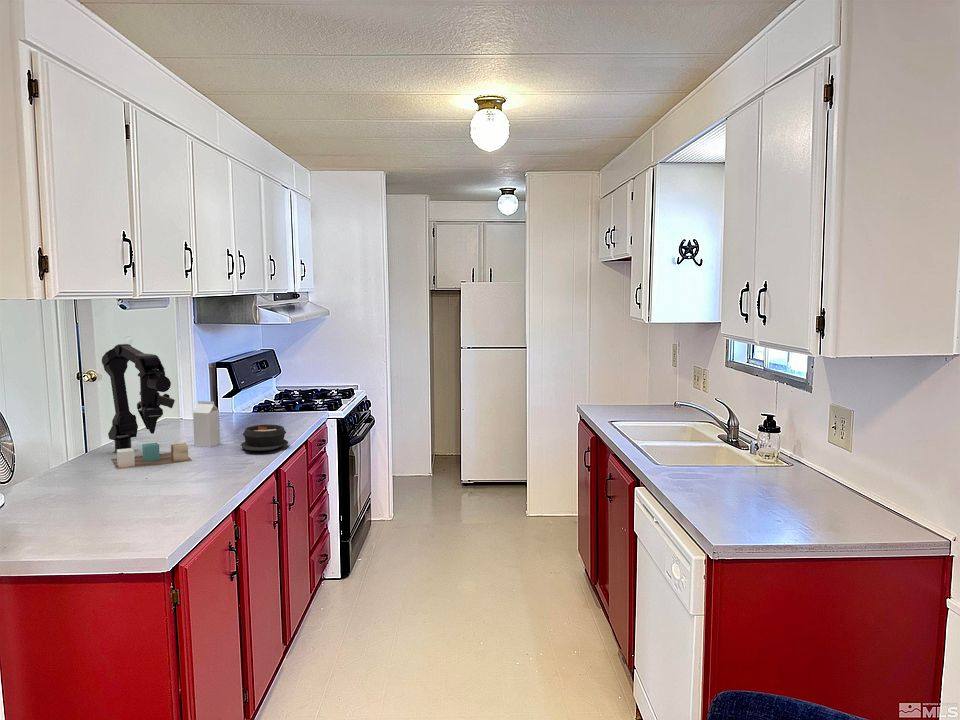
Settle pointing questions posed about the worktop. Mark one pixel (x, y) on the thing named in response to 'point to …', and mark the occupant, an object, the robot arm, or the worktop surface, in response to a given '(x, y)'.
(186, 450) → the birch block
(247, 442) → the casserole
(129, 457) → the off-white block
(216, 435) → the milk carton
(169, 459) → the walnut board
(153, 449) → the teal block
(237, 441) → the worktop surface
